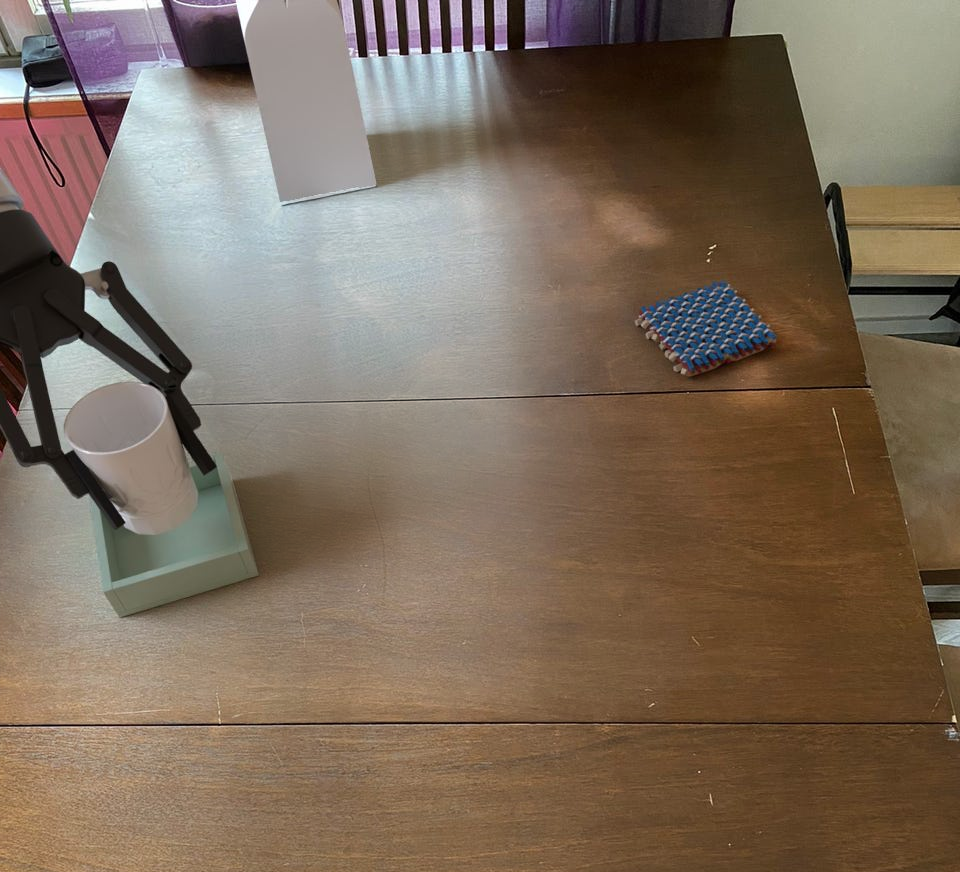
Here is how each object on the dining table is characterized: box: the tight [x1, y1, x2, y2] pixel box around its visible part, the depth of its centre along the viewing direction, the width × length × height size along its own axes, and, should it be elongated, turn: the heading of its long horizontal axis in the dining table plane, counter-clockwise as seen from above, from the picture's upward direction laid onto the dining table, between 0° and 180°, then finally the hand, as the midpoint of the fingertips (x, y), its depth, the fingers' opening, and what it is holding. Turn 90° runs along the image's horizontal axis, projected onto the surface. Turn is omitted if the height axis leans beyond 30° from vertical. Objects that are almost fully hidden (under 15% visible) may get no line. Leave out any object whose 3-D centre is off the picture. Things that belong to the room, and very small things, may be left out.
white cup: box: [63, 381, 198, 535], centre depth 80 cm, size 8×8×10 cm
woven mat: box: [634, 281, 777, 378], centre depth 98 cm, size 10×11×2 cm
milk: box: [235, 0, 377, 203], centre depth 110 cm, size 12×12×26 cm
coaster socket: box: [87, 451, 260, 618], centre depth 87 cm, size 12×12×4 cm
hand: (165, 498), depth 79 cm, fingers closed on white cup, 8 cm apart
